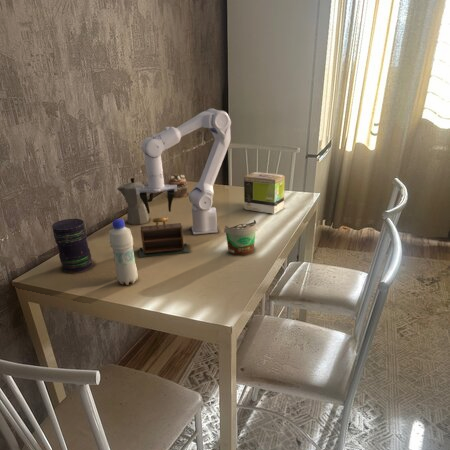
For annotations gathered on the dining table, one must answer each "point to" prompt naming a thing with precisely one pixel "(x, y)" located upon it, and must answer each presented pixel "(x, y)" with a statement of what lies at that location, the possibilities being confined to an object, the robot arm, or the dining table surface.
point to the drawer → (162, 236)
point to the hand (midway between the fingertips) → (159, 211)
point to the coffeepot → (135, 202)
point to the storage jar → (72, 245)
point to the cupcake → (179, 185)
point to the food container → (241, 238)
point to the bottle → (123, 252)
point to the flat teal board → (142, 254)
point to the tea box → (264, 192)
